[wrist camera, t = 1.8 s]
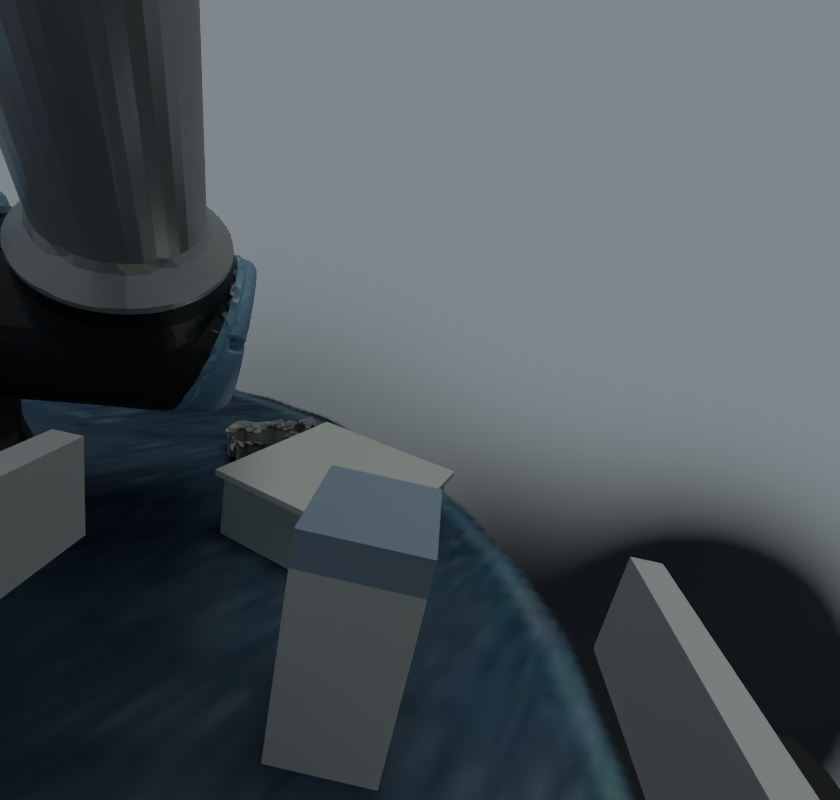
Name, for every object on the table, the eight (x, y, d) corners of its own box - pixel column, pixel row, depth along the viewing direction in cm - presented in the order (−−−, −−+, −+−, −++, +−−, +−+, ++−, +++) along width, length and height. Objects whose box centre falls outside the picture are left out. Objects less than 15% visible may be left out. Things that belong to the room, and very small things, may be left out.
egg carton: (235, 480, 48) (238, 443, 46) (221, 447, 54) (223, 414, 52) (333, 470, 54) (338, 437, 52) (311, 441, 59) (315, 411, 58)
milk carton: (260, 763, 24) (294, 528, 19) (299, 663, 29) (331, 464, 25) (377, 790, 23) (437, 560, 19) (393, 685, 29) (442, 489, 25)
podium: (210, 533, 39) (215, 469, 37) (319, 471, 52) (326, 421, 50) (364, 616, 34) (379, 547, 32) (441, 524, 47) (454, 471, 45)
